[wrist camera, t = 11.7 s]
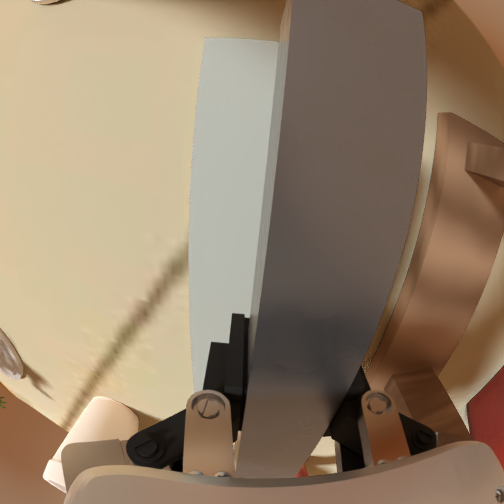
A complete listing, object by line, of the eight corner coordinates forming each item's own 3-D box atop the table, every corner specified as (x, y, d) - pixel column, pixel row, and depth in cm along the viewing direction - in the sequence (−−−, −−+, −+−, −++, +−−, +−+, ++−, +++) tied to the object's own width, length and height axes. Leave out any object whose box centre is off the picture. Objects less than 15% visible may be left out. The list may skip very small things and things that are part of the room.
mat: (207, 42, 12) (205, 37, 11) (372, 67, 12) (377, 64, 12) (196, 395, 23) (195, 402, 22) (300, 401, 23) (301, 407, 22)
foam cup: (86, 375, 22) (40, 471, 10) (161, 415, 24) (139, 517, 12) (77, 406, 25) (44, 481, 13) (138, 439, 27) (118, 516, 15)
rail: (280, 22, 6) (294, -30, 3) (373, 44, 6) (422, 11, 3) (232, 467, 15) (230, 501, 12) (273, 468, 15) (275, 501, 12)
